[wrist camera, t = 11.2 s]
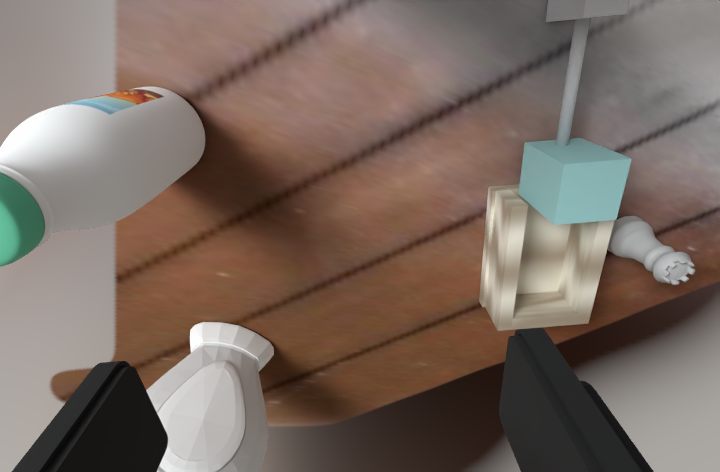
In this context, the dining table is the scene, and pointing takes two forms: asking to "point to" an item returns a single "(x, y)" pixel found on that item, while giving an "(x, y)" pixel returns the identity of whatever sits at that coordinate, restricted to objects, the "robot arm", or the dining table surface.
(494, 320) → the beige wooden open box
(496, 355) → the dining table surface
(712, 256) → the dining table surface
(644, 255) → the rook chess piece
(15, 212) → the milk bottle
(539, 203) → the cube dumbbell
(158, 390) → the soap bottle
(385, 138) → the dining table surface
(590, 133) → the dining table surface
